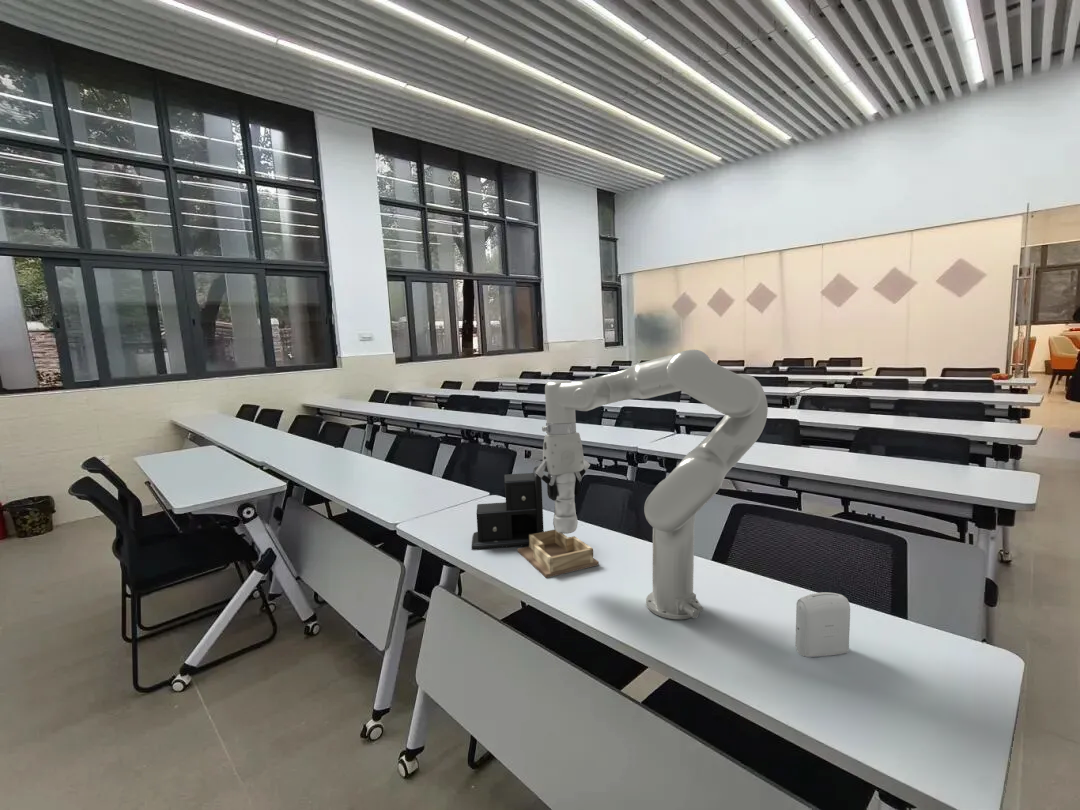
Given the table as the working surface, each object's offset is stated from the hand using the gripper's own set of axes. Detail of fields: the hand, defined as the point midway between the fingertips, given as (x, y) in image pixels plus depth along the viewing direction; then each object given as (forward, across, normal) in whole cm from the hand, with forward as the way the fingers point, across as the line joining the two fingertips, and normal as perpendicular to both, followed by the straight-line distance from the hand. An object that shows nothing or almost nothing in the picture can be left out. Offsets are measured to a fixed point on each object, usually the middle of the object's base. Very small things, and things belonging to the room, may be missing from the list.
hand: (564, 496), depth 131 cm
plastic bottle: (+10, 0, 0) cm, 10 cm away
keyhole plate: (+24, +5, +17) cm, 30 cm away
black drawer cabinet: (+24, -3, +36) cm, 44 cm away
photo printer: (+26, +32, -49) cm, 64 cm away
